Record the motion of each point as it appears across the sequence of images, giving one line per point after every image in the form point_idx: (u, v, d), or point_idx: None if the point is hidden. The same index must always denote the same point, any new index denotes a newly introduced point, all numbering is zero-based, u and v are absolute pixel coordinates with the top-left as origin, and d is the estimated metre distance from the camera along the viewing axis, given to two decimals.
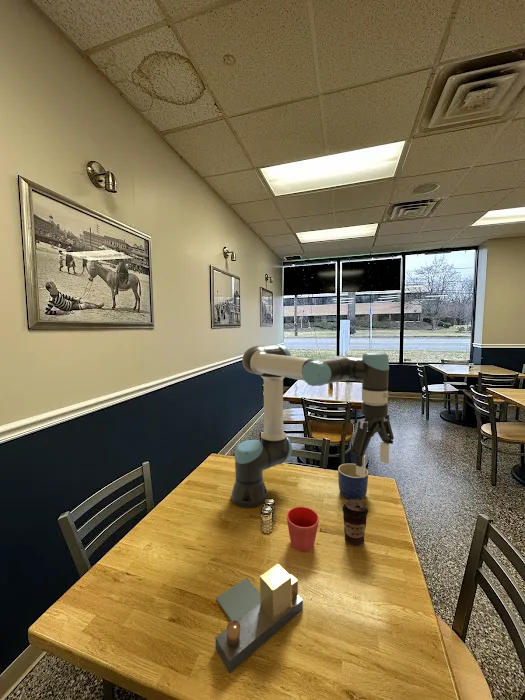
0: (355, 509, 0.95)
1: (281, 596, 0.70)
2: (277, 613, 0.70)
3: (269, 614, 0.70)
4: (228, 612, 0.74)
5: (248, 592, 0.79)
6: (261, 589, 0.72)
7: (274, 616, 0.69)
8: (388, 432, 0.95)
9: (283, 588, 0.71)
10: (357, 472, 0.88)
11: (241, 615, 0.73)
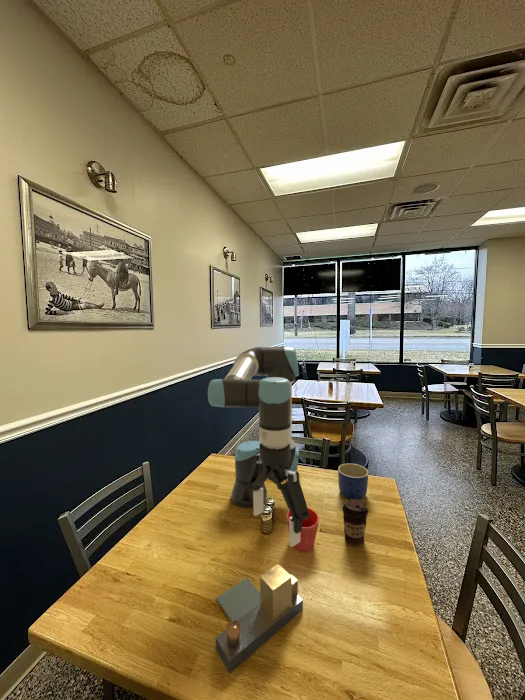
0: (355, 509, 0.95)
1: (281, 596, 0.70)
2: (277, 613, 0.70)
3: (269, 614, 0.70)
4: (228, 612, 0.74)
5: (248, 592, 0.79)
6: (261, 589, 0.72)
7: (274, 616, 0.69)
8: None
9: (283, 588, 0.71)
10: None
11: (241, 615, 0.73)
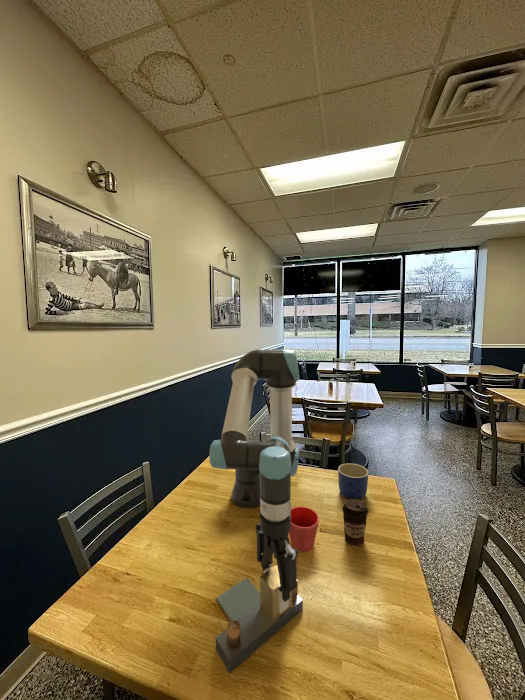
0: (355, 509, 0.95)
1: None
2: (277, 613, 0.70)
3: (269, 614, 0.70)
4: (228, 612, 0.74)
5: (248, 592, 0.79)
6: (261, 589, 0.72)
7: (274, 616, 0.69)
8: None
9: None
10: None
11: (241, 615, 0.73)
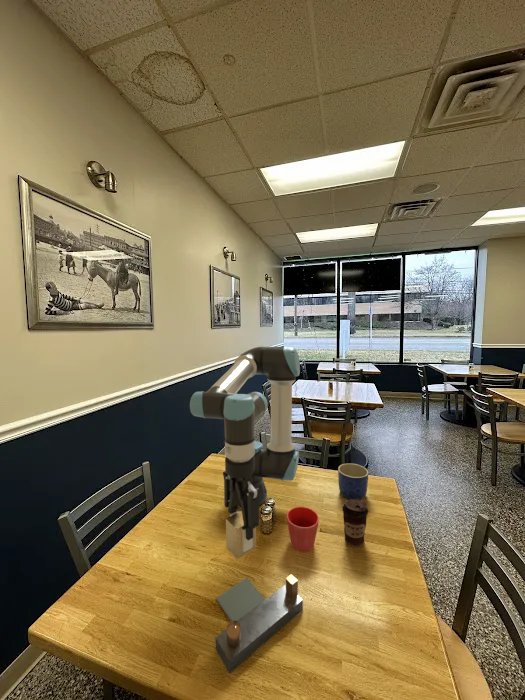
0: (355, 509, 0.95)
1: None
2: (241, 552, 0.73)
3: (233, 553, 0.73)
4: (228, 612, 0.74)
5: (248, 592, 0.79)
6: (226, 531, 0.75)
7: (238, 554, 0.72)
8: None
9: None
10: None
11: (241, 615, 0.73)
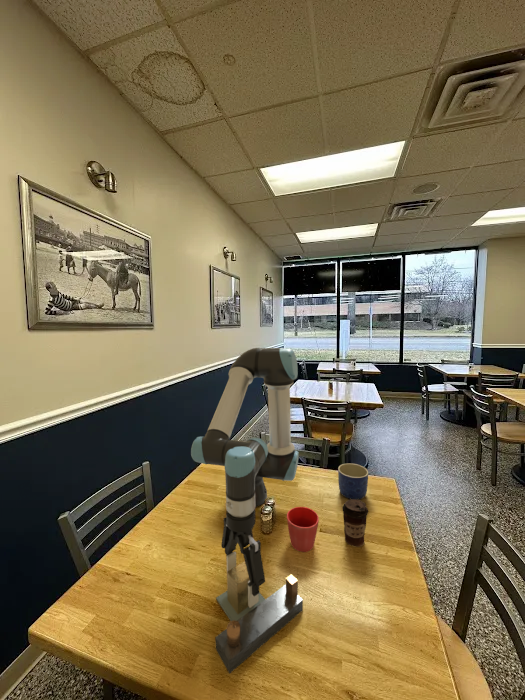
0: (355, 509, 0.95)
1: (246, 590, 0.74)
2: (242, 606, 0.74)
3: (234, 607, 0.74)
4: (228, 612, 0.74)
5: None
6: (228, 584, 0.76)
7: (239, 609, 0.73)
8: None
9: None
10: None
11: (241, 615, 0.73)
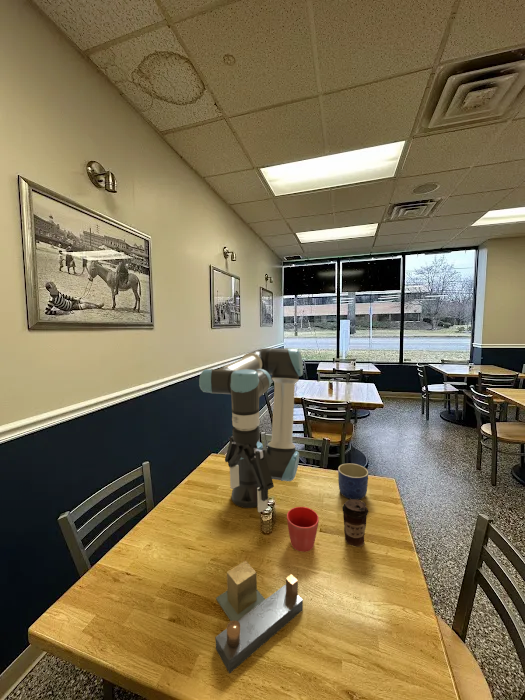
0: (355, 509, 0.95)
1: (246, 590, 0.74)
2: (242, 606, 0.74)
3: (234, 607, 0.74)
4: (228, 612, 0.74)
5: None
6: (228, 584, 0.76)
7: (239, 609, 0.73)
8: None
9: (248, 583, 0.75)
10: None
11: (241, 615, 0.73)
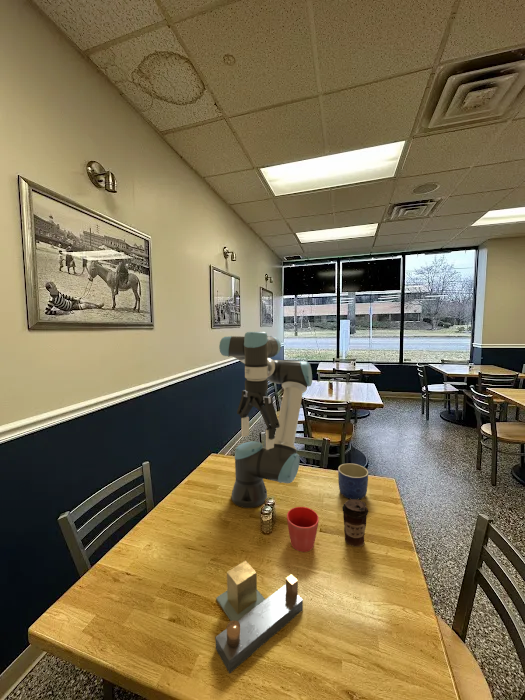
0: (355, 509, 0.95)
1: (246, 590, 0.74)
2: (242, 606, 0.74)
3: (234, 607, 0.74)
4: (228, 612, 0.74)
5: None
6: (228, 584, 0.76)
7: (239, 609, 0.73)
8: None
9: (248, 583, 0.75)
10: None
11: (241, 615, 0.73)
